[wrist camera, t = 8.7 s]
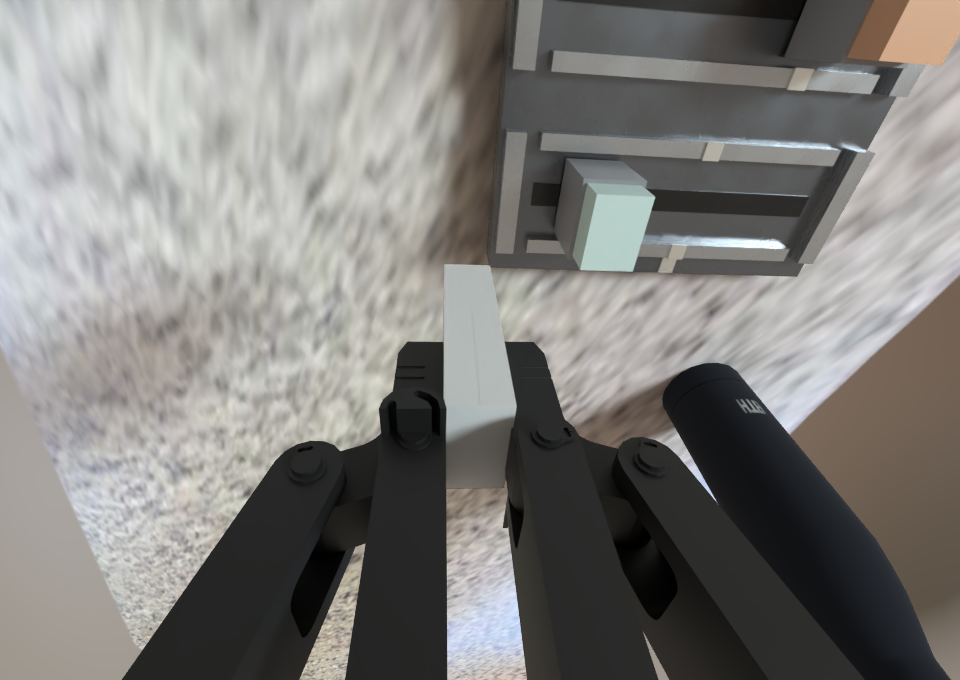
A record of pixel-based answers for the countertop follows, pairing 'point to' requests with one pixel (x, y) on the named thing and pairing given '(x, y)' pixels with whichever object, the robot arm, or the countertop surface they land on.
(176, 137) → the countertop surface
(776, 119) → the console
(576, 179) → the knob
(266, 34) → the countertop surface
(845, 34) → the knob
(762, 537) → the black water bottle
